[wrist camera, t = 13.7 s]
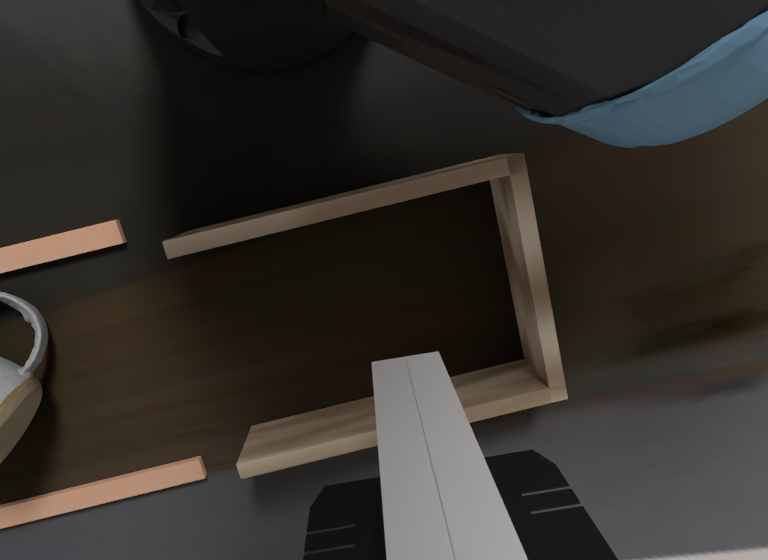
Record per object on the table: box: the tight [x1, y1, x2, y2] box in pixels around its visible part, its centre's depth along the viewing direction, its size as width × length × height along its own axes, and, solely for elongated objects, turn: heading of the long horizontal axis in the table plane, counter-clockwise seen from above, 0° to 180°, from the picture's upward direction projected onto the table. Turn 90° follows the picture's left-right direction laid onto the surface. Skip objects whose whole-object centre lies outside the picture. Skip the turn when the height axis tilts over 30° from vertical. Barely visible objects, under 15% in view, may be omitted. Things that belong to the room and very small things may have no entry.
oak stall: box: [162, 153, 568, 479], centre depth 34 cm, size 15×20×5 cm
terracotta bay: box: [0, 219, 207, 529], centre depth 36 cm, size 18×19×1 cm
